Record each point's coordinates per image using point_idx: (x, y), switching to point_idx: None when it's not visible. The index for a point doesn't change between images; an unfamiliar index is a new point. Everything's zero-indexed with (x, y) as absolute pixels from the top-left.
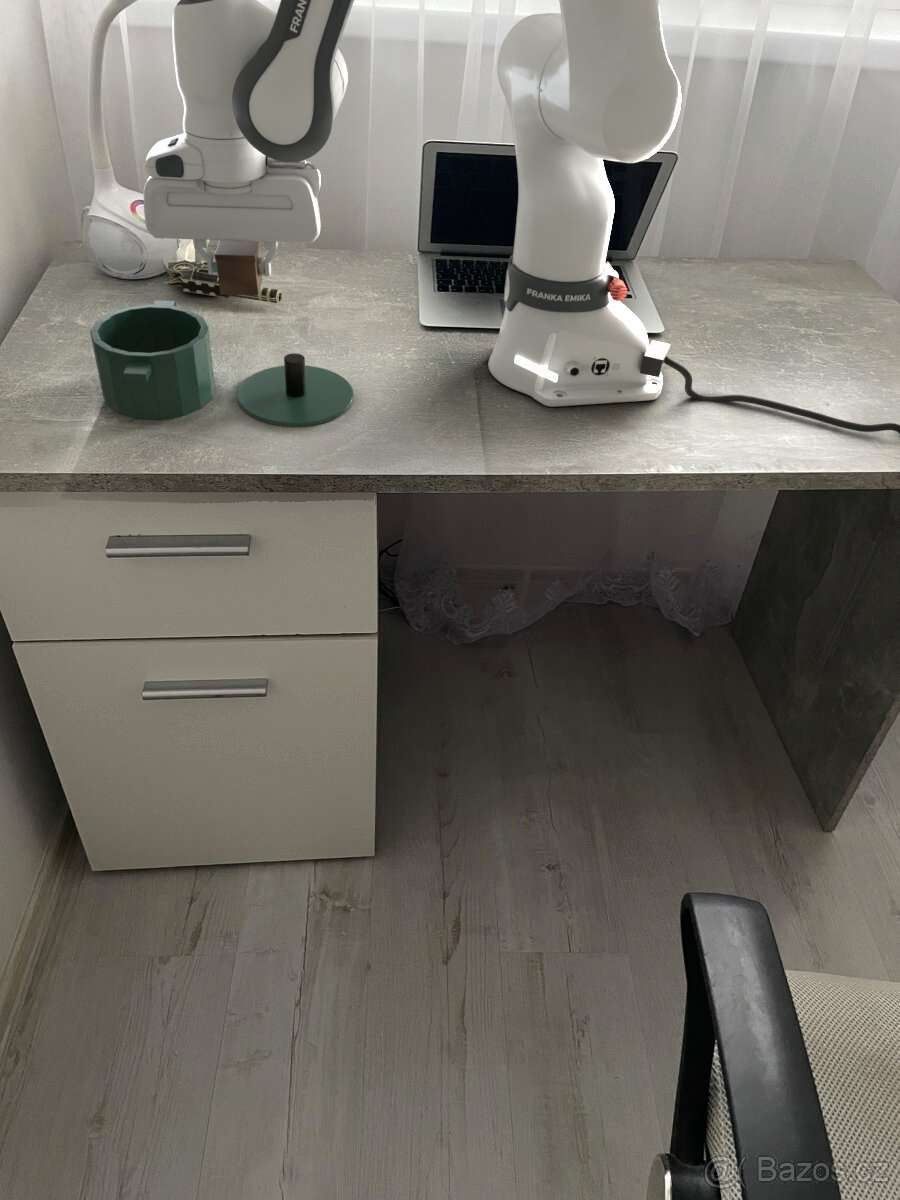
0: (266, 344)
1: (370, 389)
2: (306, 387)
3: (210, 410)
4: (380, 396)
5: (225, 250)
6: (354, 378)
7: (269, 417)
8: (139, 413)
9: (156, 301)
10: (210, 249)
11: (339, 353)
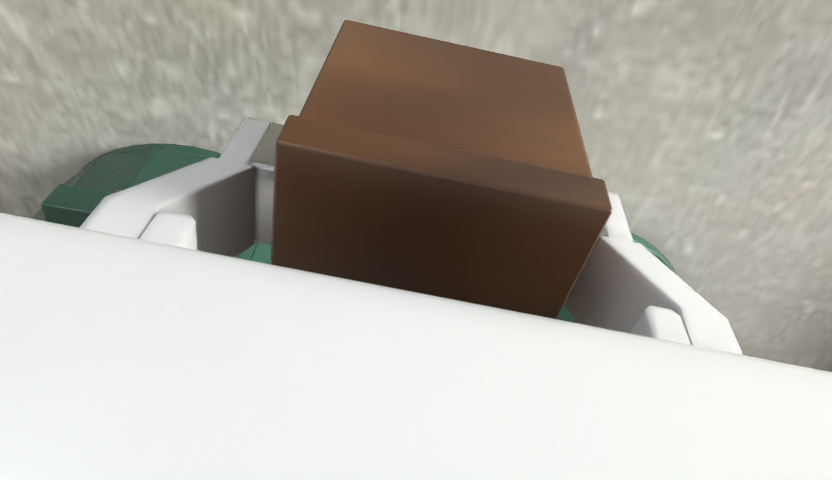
0: (519, 3)
1: (741, 297)
2: (568, 321)
3: None
4: (747, 325)
5: None
6: (728, 248)
7: None
8: None
9: (51, 215)
10: (218, 184)
11: (765, 105)
